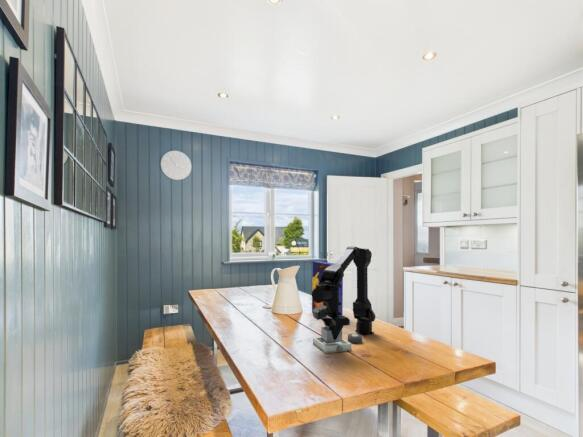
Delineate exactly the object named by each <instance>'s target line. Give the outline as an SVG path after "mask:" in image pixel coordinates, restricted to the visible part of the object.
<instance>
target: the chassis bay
mask: <svg viewBox="0 0 583 437" xmlns="http://www.w3.org/2000/svg"><path fill="white" fill-rule="evenodd" d="M312 344H313V346H314V347H316V348H318V349H319V350H320V351H322V352H323V353H324V354H331V353H332V354H333V353H342V352H348V351H352V343H350V342H348V340H346V339H344V338H343V337H342V342H335V343H325V342H324V341H323V340H321V336H317V337H313V338H312Z"/></svg>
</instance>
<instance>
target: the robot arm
mask: <svg viewBox="0 0 583 437" xmlns="http://www.w3.org/2000/svg"><path fill="white" fill-rule="evenodd" d="M372 255H373V254H372V251H371V250H370V249H369V248H360V247H358V246H347V247H346V249H345V251H344V252H343V253H342V255H340V257H339V258H338V260H336V262H334V263H335V264H333V265H331V266H329V267H327V268H326V269H325V270H324V272H323V274H322V277H321V279H320V281H319V284H318V285H316V288H315V289H314V290H313V292H311V300H312V299H313V300H314V301H315V302H316V303H321V302H323V305H322V306H319V307H317V308H315V309H313V310H312V309H311V314H312V315H313V319H316V320H318V321H319V320H321V321H322V322H323V324H324V326H325V325H329V324H330V325H331V326H332V329H333V338H334V340H336V339H337V337H338V335H339V333H340V331H341V329H342V330H343V327H344V326H350V323H351V320H350V319H349V317H347V316H346V315H342V316H338V315H341V312H339V305H341V302H339V288H341V287H342V285H341V284H340V282H341V280H342V278H344V277H345V273H344V272H345V271H346V269H347V268H348V266H349V265H350V264H351V263H352V261H353V263H354V265H355V267H356V299H355V300H354V301H353V302H352V312H353V314H352V315H353V317H354V319H356V326H355V327H356V329H355V330H354V331H355V332H356V333H357V334H359V335H361V336H365V335H374V334H375V332H374V331H373V322H375V321H376V314H375V312H374V310H373V309H372V303H371V302H370V300H369V293H368V292H369V291H368V289H369V287H368V283H369V282H368V279H369V278H368V277H369V276H368V268H369V265H370V264H371V261H372V257H373V256H372ZM329 282H330V283H329Z"/></svg>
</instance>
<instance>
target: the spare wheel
mask: <svg viewBox="0 0 583 437" xmlns="http://www.w3.org/2000/svg"><path fill="white" fill-rule="evenodd" d="M347 341H348V342H349V343H351V344H354V345H355V344H356V345H358V344H362V343H363V335H362V334H360V333H348V335H347Z"/></svg>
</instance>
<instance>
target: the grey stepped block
mask: <svg viewBox="0 0 583 437" xmlns="http://www.w3.org/2000/svg"><path fill="white" fill-rule="evenodd" d="M320 337H321V340H323V341H324V342H325V343H335V342H342V338H343V328H342V329H341V331H340V333H339V335H338V337H337V339H336V340H334V338H333V329H332V326H331V325H330V324H329V325H325V324H324V327H321V336H320Z"/></svg>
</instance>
